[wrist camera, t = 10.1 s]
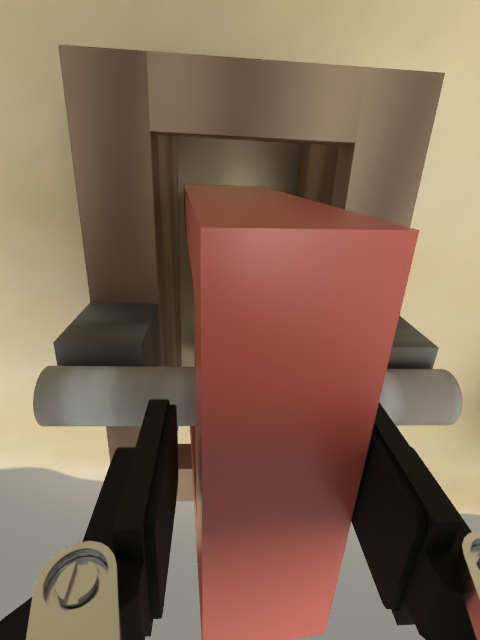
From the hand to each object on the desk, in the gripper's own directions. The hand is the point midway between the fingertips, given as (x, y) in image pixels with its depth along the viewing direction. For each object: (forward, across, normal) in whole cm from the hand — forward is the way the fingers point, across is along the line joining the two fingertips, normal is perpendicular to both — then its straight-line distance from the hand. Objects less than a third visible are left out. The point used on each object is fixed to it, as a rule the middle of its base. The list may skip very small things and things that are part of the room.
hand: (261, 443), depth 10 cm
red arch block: (+11, +1, 0) cm, 11 cm away
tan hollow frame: (+17, 0, 0) cm, 17 cm away
